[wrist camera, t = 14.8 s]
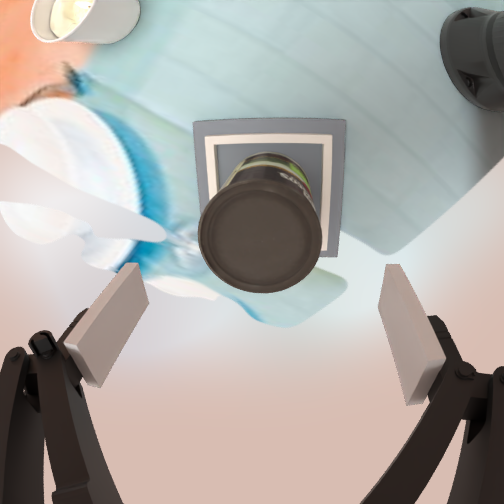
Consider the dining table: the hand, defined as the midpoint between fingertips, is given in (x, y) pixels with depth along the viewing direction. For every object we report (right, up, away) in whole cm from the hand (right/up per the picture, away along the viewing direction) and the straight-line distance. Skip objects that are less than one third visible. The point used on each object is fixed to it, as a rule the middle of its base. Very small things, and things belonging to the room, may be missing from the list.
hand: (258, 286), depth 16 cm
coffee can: (+2, +9, +22) cm, 24 cm away
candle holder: (-19, +33, +13) cm, 40 cm away
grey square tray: (+2, +10, +23) cm, 25 cm away
